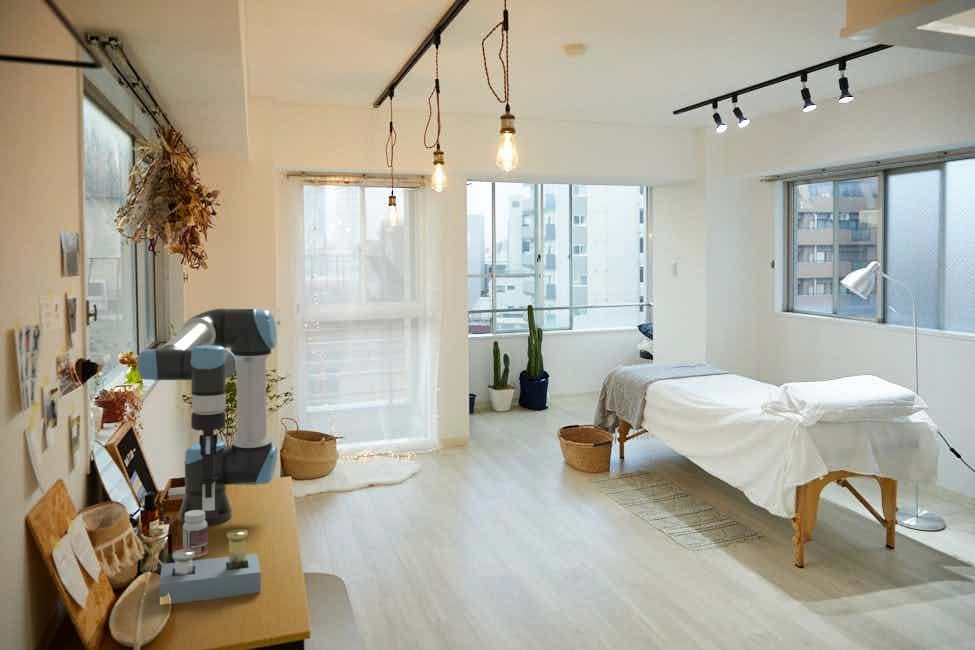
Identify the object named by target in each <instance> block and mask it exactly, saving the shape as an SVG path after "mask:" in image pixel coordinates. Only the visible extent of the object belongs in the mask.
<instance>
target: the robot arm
mask: <svg viewBox="0 0 975 650" xmlns="http://www.w3.org/2000/svg"><path fill="white" fill-rule="evenodd" d="M277 338H278V336H277V328H276V322H275V318H274V316H273V313H272V312H271V311H269V310H267V309H261V308H260V309H259V308H214V309H210V310H207V311H204V312H201V313H199V314H197V315H195V316H194V315H193V316H192V317H191V318H189V319H188V320H187V321H186V322H185V323H184V324H183V325H182V327H181V330H180V331H179V332H178V333H177V334H176V335H174V336H173V337H172V338H171V339H170V340H168V341H167V342H166V343H165V344H164V345H163V346H161V347H160V348H158V349H157V348H156V349H155V348H151V349H150V348H149V349H143V350H142V351H141V352H140V353H139V355H138V358H137V359H138V360H137V372H138V375H139V376H140V379H142V380H146V381H147V380H150V381H156V382H157V381H191V384H190V385H191V386H190V387H191V397H189V398H188V402H189V403H191V411H192V413H191V415H190V416H191V419H190V420H191V421H190V422H191V428H192V429H193V431H202V434H199V438H198V439H199V443H196V444H193V445H190V446H189V447H188V448H187V449H186V450H185V452H184V453H185V454H184V462H183V463H184V490H185V491H184V497H183V500H182V503H181V506H180V509H179V512H178V522H179V523H180V524H182V525H183V524H184V523H185V522H186V521H185V520H184V518H185V513H186V512H188V511H192V510H202V511H205V519H204V520H205V521H206V522H207V526H213V525H217V524H218V525H219V524H222V523H223V522H224V523H225V522H226V521H228V520H230V519H231V518H232V516H233V515H232V514H233V511H232V509H233V508H232V505H231V503H230V500H229V498H228V495H227V490H226V489H227V488H226V487H227V486H232V485H233V486H234V485H235V486H240V485H241V486H245V485H247V486H248V485H250V486H251V485H253V486H257V485H267V484H269V483H270V482H271V481H272V480H273V478H274V474H275V470H276V469H275V468H276V464H277V460H278V459H277V458H278V447H277V446H276V445H272V442H273V441H272V439H271V438H270V436H269V435H267V359H268V358H269V356H271V354H272V349H276V347H277V344H278V343H277V342H278V341H277ZM229 348H230V350H229ZM235 371H236V373H235ZM234 373H235V374H236V375H235V376H236V377H235V378H236V379H235V380H236V383H235V384H236V386H235V387H236V437H235V438H234V439H233V440H232V441H231V446H229V445H227V443H226V441H225V440H218V434H215V430H222V429H224V428H225V427H226V412H225V410H226V408H227V407H226V406H227V404H226V403H227V397H226V395H227V394H226V393H227V392H226V380H227V379H228V378H230V377H232V376H233V374H234Z"/></svg>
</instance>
